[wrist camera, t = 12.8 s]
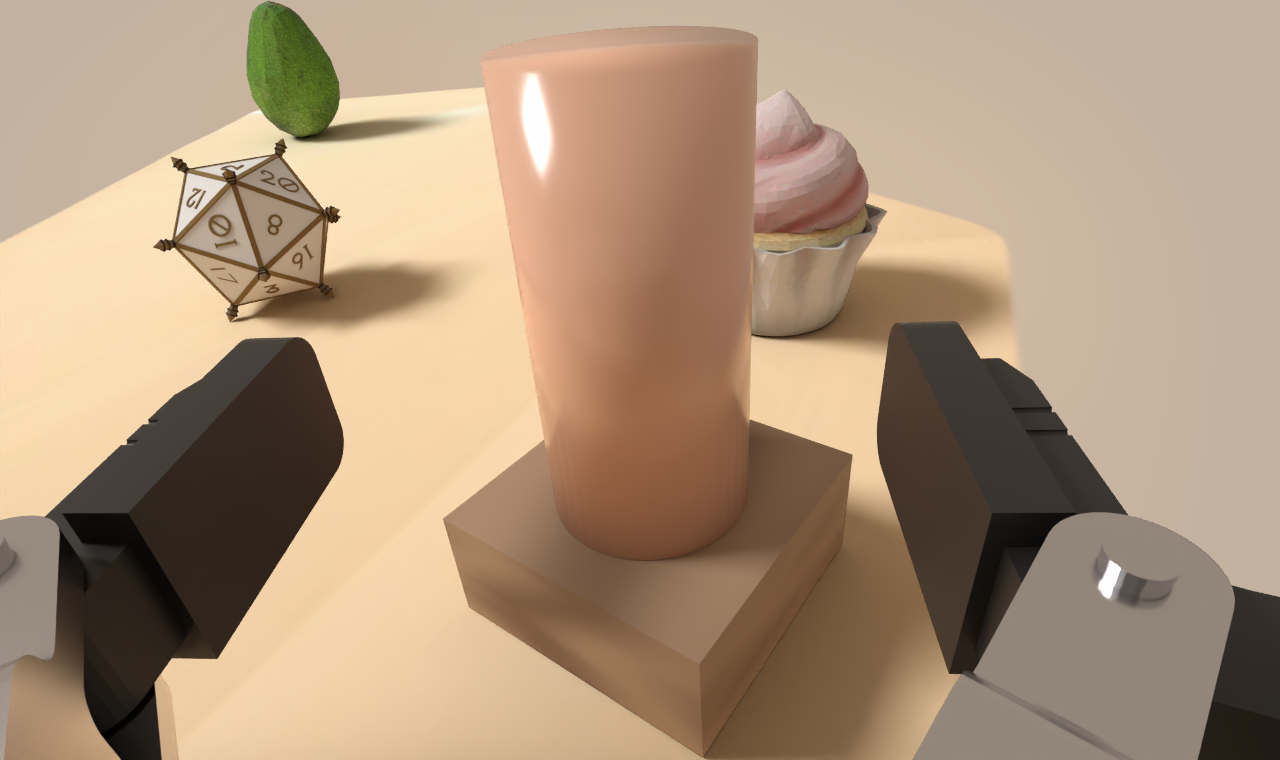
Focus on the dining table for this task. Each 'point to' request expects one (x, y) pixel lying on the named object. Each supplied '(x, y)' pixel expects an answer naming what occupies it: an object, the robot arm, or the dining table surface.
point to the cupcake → (804, 219)
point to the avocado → (290, 72)
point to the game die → (251, 229)
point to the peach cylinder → (635, 272)
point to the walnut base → (658, 584)
